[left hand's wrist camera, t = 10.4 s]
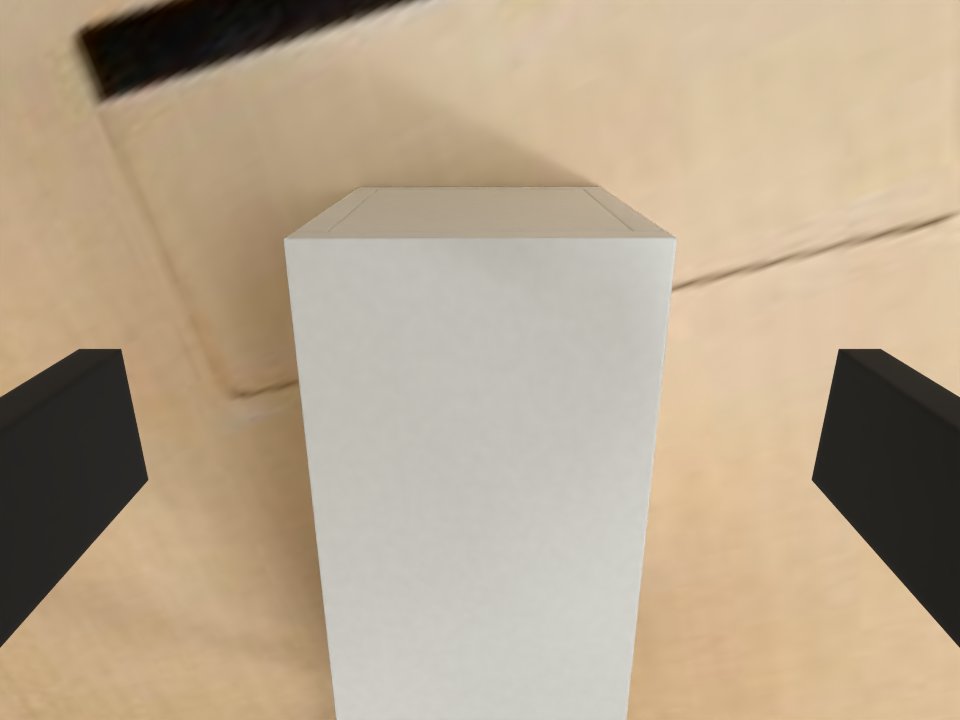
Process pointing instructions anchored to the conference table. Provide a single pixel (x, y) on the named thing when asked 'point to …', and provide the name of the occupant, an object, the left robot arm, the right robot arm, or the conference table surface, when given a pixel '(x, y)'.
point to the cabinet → (480, 444)
